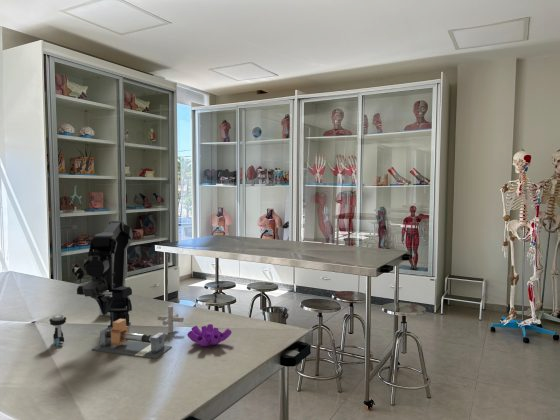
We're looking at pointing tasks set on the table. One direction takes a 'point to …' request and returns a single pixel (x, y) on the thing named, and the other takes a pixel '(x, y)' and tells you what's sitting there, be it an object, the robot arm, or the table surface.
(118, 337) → the collar
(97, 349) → the grey base plate
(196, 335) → the purple tube cluster
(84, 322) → the table surface
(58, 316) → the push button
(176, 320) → the pipe connector
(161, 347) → the linear slide rail
